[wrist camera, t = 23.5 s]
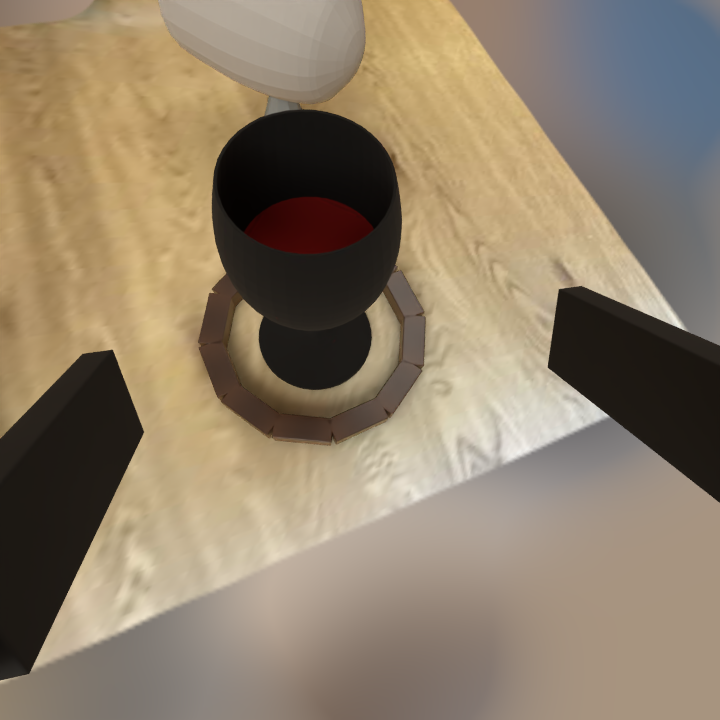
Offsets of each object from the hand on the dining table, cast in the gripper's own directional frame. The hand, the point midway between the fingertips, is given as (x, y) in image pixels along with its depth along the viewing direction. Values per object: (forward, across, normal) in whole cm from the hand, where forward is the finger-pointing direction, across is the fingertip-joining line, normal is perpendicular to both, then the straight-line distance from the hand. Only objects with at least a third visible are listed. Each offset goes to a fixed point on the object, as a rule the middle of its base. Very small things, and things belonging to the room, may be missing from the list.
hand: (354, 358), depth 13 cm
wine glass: (+25, 0, +10) cm, 27 cm away
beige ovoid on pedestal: (+43, +2, -9) cm, 44 cm away
